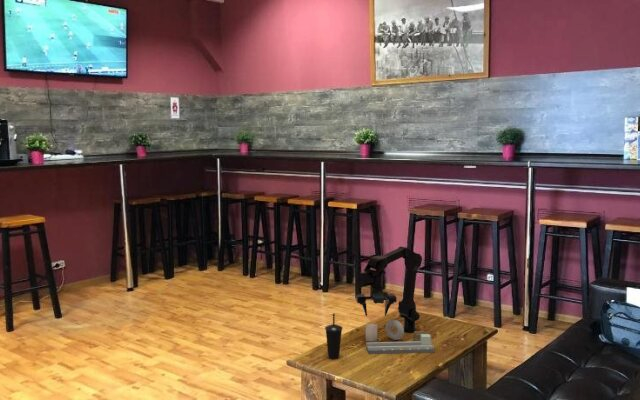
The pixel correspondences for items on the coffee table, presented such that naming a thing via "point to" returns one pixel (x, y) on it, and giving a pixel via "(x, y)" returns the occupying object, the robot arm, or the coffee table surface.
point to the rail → (398, 347)
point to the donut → (398, 326)
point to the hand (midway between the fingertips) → (375, 315)
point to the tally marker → (425, 339)
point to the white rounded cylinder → (371, 332)
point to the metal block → (418, 335)
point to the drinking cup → (333, 339)
